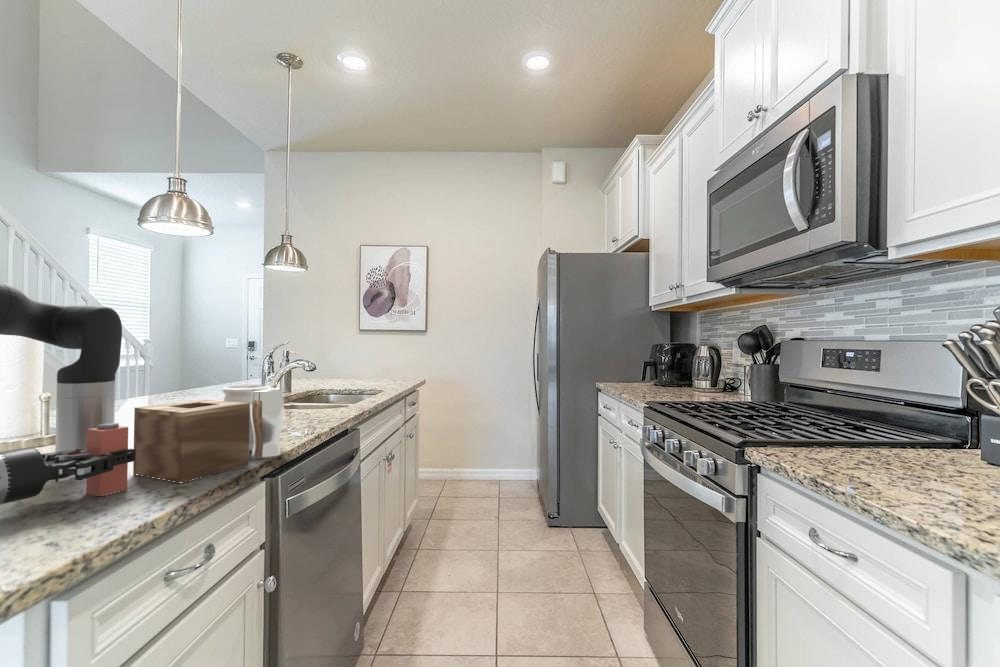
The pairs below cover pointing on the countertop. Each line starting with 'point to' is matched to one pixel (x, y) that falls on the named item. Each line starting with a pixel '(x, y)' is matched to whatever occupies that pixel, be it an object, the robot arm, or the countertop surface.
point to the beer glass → (266, 422)
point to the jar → (242, 400)
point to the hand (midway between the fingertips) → (125, 453)
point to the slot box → (190, 439)
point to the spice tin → (109, 441)
